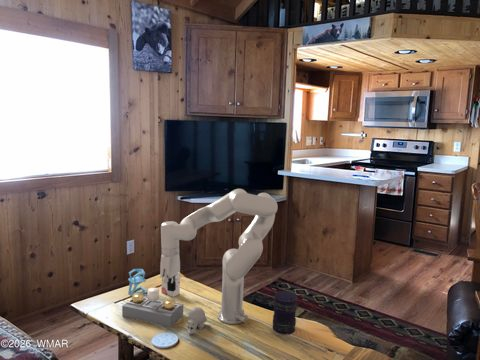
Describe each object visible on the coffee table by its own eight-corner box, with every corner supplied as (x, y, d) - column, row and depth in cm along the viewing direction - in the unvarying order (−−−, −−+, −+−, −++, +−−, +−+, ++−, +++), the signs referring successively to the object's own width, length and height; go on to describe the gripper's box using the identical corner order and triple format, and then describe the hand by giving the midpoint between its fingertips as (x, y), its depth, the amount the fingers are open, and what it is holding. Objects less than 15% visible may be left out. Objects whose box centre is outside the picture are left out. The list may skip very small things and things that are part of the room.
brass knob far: (145, 300, 172) (145, 294, 171) (139, 304, 167) (139, 298, 167) (136, 298, 173) (136, 292, 173) (129, 302, 169) (129, 296, 168)
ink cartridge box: (160, 292, 191) (161, 265, 189) (167, 289, 195) (168, 262, 193) (173, 297, 187) (173, 269, 185) (180, 293, 191) (180, 266, 189)
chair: (125, 292, 191) (125, 269, 189) (140, 287, 196) (140, 265, 194) (132, 297, 185) (132, 274, 183) (148, 292, 190) (148, 270, 189)
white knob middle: (161, 297, 169) (161, 288, 168) (155, 301, 164) (155, 293, 164) (151, 295, 171) (151, 286, 170) (145, 299, 166) (145, 291, 165)
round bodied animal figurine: (182, 337, 157) (178, 323, 152) (195, 315, 166) (191, 301, 162) (197, 341, 154) (194, 327, 150) (209, 319, 164) (206, 305, 160)
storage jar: (267, 327, 163) (269, 294, 161) (283, 320, 169) (285, 289, 167) (284, 337, 155) (286, 303, 153) (300, 330, 161) (302, 297, 159)
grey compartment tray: (183, 314, 171) (183, 302, 170) (170, 327, 159) (170, 315, 158) (137, 304, 178) (137, 293, 177) (122, 316, 167) (122, 304, 166)
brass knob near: (176, 306, 167) (176, 300, 167) (171, 311, 162) (171, 305, 162) (166, 304, 169) (166, 298, 168) (161, 309, 164) (161, 303, 163)
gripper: (171, 244, 170) (172, 282, 173) (153, 255, 156) (155, 296, 158) (186, 245, 167) (186, 284, 170) (169, 257, 153) (170, 299, 156)
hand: (171, 290), depth 164 cm, fingers closed
